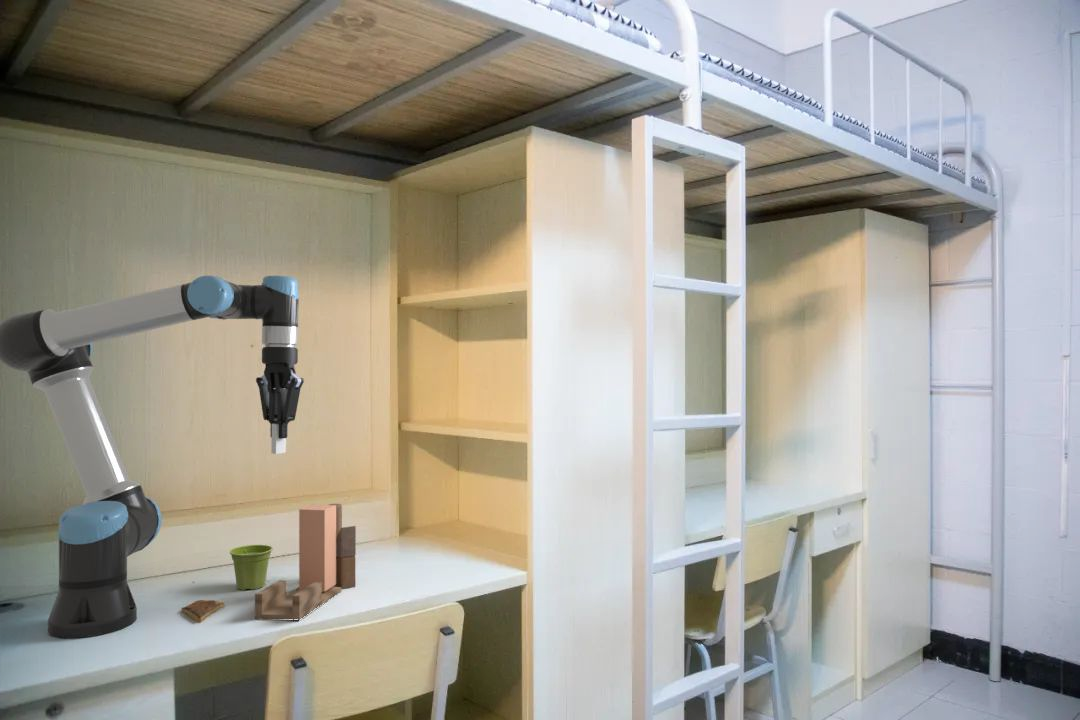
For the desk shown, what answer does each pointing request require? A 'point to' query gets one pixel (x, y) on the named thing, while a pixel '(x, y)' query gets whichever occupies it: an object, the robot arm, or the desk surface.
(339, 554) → the brown stepped tower
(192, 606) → the shard
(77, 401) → the robot arm
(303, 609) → the chute
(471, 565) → the desk surface
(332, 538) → the block
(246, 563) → the plant pot
